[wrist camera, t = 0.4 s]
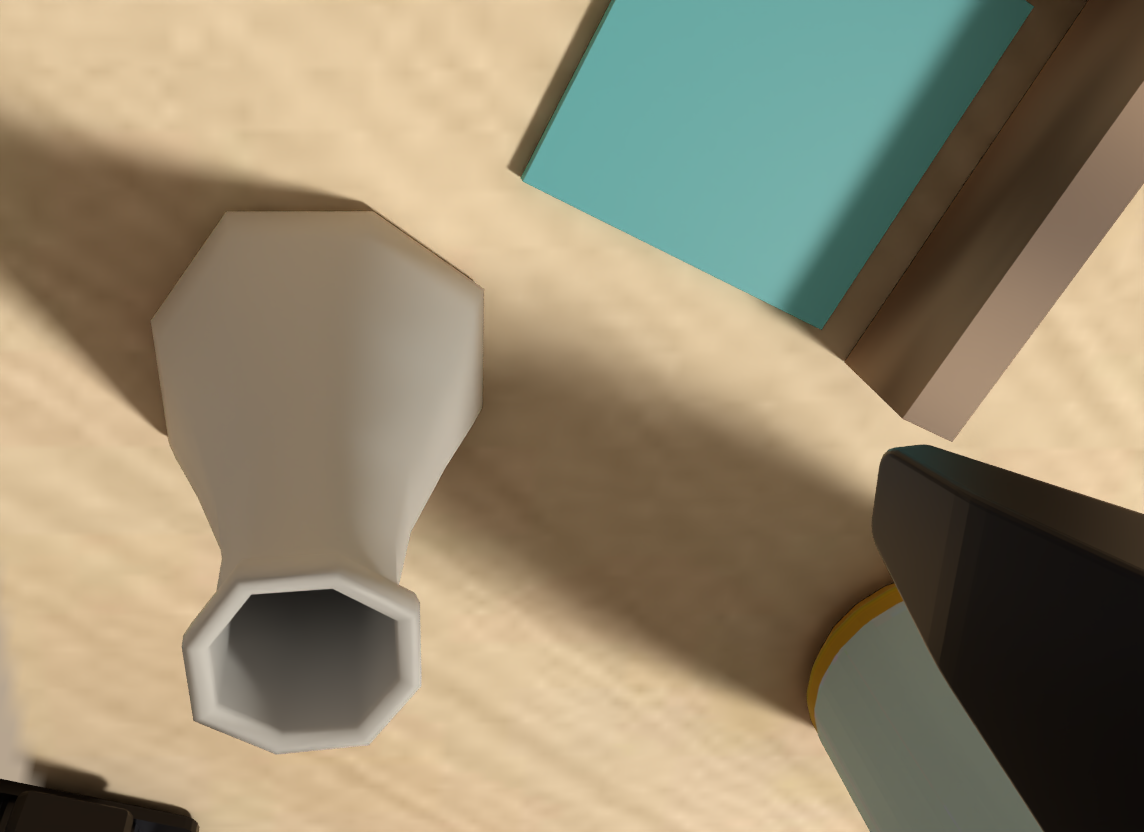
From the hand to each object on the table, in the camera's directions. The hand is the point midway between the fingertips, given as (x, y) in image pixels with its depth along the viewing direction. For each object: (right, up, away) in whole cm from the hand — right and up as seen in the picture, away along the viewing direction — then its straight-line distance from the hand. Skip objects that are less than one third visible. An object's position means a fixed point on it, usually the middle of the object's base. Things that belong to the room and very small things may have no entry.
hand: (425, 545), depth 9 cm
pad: (+6, +8, +12) cm, 15 cm away
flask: (-4, +2, +13) cm, 14 cm away
